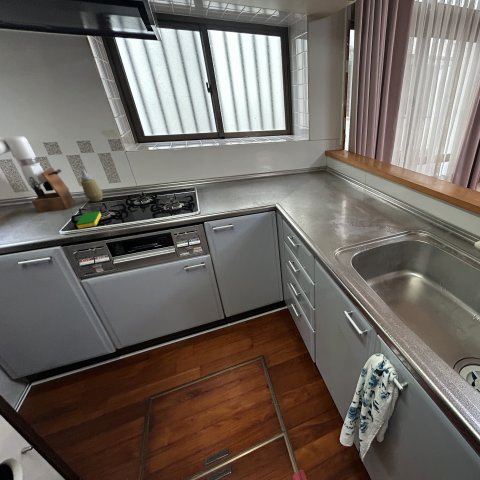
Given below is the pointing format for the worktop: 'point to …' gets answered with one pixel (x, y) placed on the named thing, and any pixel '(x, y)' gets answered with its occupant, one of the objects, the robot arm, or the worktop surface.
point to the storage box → (53, 202)
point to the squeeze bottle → (91, 188)
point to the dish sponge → (89, 219)
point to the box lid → (55, 181)
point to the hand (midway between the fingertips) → (46, 193)
